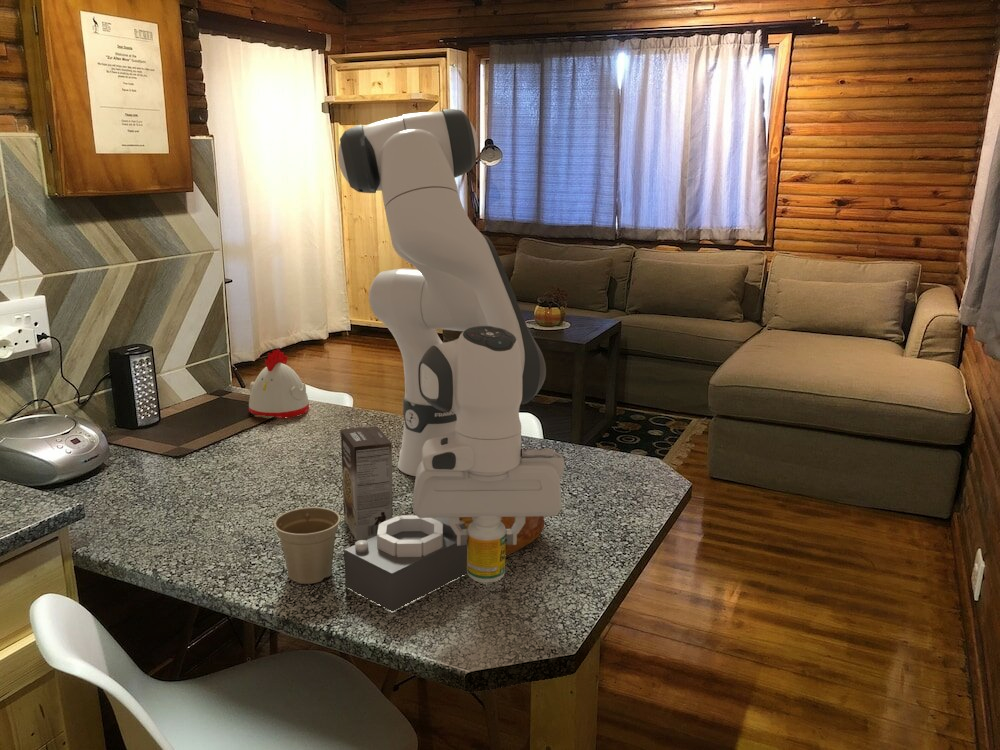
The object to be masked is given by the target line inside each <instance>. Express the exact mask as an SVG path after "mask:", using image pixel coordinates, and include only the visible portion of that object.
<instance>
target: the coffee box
mask: <svg viewBox="0 0 1000 750" xmlns="http://www.w3.org/2000/svg"><path fill="white" fill-rule="evenodd" d="M340 444H341V445H340V446H341V447H340V449H341V469H342V470H341V471H342V494H343V495H342V496H343V518H344V521H345V523H346V525H347V526H348V528H349V529H350V531H351V533H352V535H353V538H354V539H355V540H356V541H355V542H357V541H359V540H368V539H370V538H372V537H375V536H377V532H378V527H379V524H380V523H382V522H384V521H387V520H389V519H391V518H393V442H391V441H390V439H389V438H388V437H387V436H386V435H385V434H384V432H383V431H382V430H381V428H379V426H377V425H375V426H366V427H365V426H363V427H362V426H361V427H353V428H352V427H350V428H349V427H348V428H344V429H340Z"/></svg>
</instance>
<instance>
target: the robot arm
mask: <svg viewBox="0 0 1000 750" xmlns="http://www.w3.org/2000/svg"><path fill="white" fill-rule="evenodd" d="M478 140H479V139H478V134H477V131H476V129H475V127H474V125H473V123H472V122H471V121H470V118H469V116H468V115H467V114H466V113H465V112H464V111H463V110H461V109H455V108H442V109H441V111H438V110H437V111H421V112H412V113H411V112H409V113H404V114H402V115H399V116H396V117H390V118H385V119H382V120H378V121H375V122H371V123H368V124H366V125H362V124H358V125H355V126H353V127H350V128H347V130H344V132H343V133H342V135H341V137H340V138H339V142H340V143H339V147H338V150H337V151H338V152H337V158H338V159H337V160H338V161H337V162H338V167H339V169H340V172H341V174H342V176H343V178H344V179H345V180H346V181H347V183H348V184H349V187H350V188H352V189H353V190H354V191H356V192H358V193H363V194H376V193H377V192H376V191H378V192H379V191H381V194H382V200H383V206H384V211H385V216H386V217H385V218H386V221H387V226H388V230H389V235H390V240H391V245H392V248H393V249H394V251H395V253H396V254H397V255H398V256H399V257H400V258H401V259H403V260H404V261H405V262H406V263H409V264H410V265H412V266H413V267H414V268H406V267H405V268H404V267H403V268H396V269H390V270H383V271H380V272H379V273H378V274H377V275H376V276H375V277H374V279H373V280H372V282H371V284H370V285H369V290H368V302H369V303H368V304H369V307H370V310H371V312H372V313H373V316H375V318H377V319H378V320H379V321H381V322H382V323H383V325H384V326H386V327H387V329H388V330H389V332H390V333H391V335H392V336H393V338H394V339H395V341H396V343H397V346H398V348H399V351H400V354H401V359H402V363H403V373H404V396H403V398H402V415H403V431H402V438H401V439H402V440H401V447H400V450H399V458H398V462H397V468H398V470H400V471H401V472H402V473H404V474H406V475H409V476H413V477H415V480H414V488H413V495H412V496H413V498H412V512H413V513H414V515H416V516H417V517H419V518H445V517H449V525H450V526H451V528H452V529H453V531H454V532H455V534H456V535H457V546H466V545H468V541H467V539H468V533H467V529H461V527H460V526H459V517H480V516H496V517H514V519H515V523H514V524H513V526H512V528H511V529H506V545H516V544H517V534H518V533H519V532H520V530H521V529H522V527H523V526H524V524H525V517H532V516H544V517H556V516H557V515H558V514H559V513H560V512H561V510H562V491H561V483H560V479H562V477H563V476H564V474H565V473H564V472H565V459H564V457H563V456H562V454H560V453H559V452H556V451H555V450H554V449H553V448H552V449H551V448H544V449H538V448H537V449H536V448H522V423H521V419H520V414H519V413H520V406H521V405H526V404H528V403H530V402H531V401H532V400H533V399H534V398H535V396H537V394H538V393H539V392H540V390H541V389H542V386H543V385H544V384H545V383H544V382H545V380H546V377H547V366H546V365H547V364H546V361H545V358H544V355H543V352H542V350H541V348H540V347H539V345H538V343H537V342H536V340H535V338H534V337H533V336H532V334H531V331H530V329H529V327H528V325H527V322H526V321H525V318H524V316H523V313H522V311H521V307H520V306H519V303H518V300H517V297H516V295H515V293H514V291H513V290H514V289H513V288H512V286H511V282H510V281H509V278H508V276H507V273H506V271H505V268H504V265H503V263H502V260H501V259H500V256H499V254H498V251H497V249H496V247H495V246H494V244H493V242H492V240H491V239H490V238H489V237H488V236H487V235H485V234H484V233H482V232H480V230H479V229H478V228H477V227H476V225H474V223H473V222H472V221H471V219H470V218H469V216H468V214H467V213H466V211H465V209H464V207H463V204H462V201H461V198H460V197H461V196H460V193H459V190H458V184H457V181H456V179H455V178H457V177H460V176H463V175H465V174H467V173H469V172H470V171H471V170H472V168H473V167H474V166H475V165H476V162H477V155H478V153H479V152H478V151H479V150H478V149H479V141H478ZM437 330H443V331H444V330H446V331H457V332H460V335H459V336H458V338H456V339H453V340H451V341H447V342H446V341H445V342H443V341H442V339H441V338H440V336H439V334H438V332H437Z"/></svg>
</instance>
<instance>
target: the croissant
mask: <svg viewBox="0 0 1000 750" xmlns="http://www.w3.org/2000/svg"><path fill="white" fill-rule="evenodd" d="M459 520H460V521H463V522H465V529H468V526H469V525H470V523H472V522H473V520H472V517H459ZM501 522H502V523H503V524H504V526H505V528H506V529H511V528H512V526H513V524H514V523H515V519H514V517H502V520H501ZM544 528H545V516H532V517H525V524H524V526H523V527H522V529H521V530H520V532H519V533H518V534H517V544H516V545H506V552H505V555H506V556H508V555H511V554H513V553H515V552H516V551H518V550H521V549H522V548H524V547H526V546H528V545H530V544H531V543H533V542H534V541H535V540H536V539H537V538H538V537H539V536H540V535H541V533H542V531H543V529H544Z"/></svg>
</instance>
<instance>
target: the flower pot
mask: <svg viewBox="0 0 1000 750" xmlns="http://www.w3.org/2000/svg"><path fill="white" fill-rule="evenodd" d="M341 520H342V518H341V515H340V514H339V512H337V511H335V510H333V509H330V508H327V507H321V506H320V507H319V506H306V507H302V508H301V507H300V508H296V509H295V508H294V509H292V510H288V511H285V512H284V513H282V514H279V516H277V517H276V518H275V519H274V521H273V528H274V529H275V530H276V531H277V536H278V538H279V539H280V543H281V547H282V551H283V557H284V560H285V566H286V570H287V576H288V579H289V580H291V581H295V582H296V583H298V584H303V585H309V584H315V583H321V581H323V579H325V578H329V577H330V576H331V575H332V571H333V560H334V550H335V544H336V543H335V540H336V533H337V532H338V528H339V525H340V524H341Z"/></svg>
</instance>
